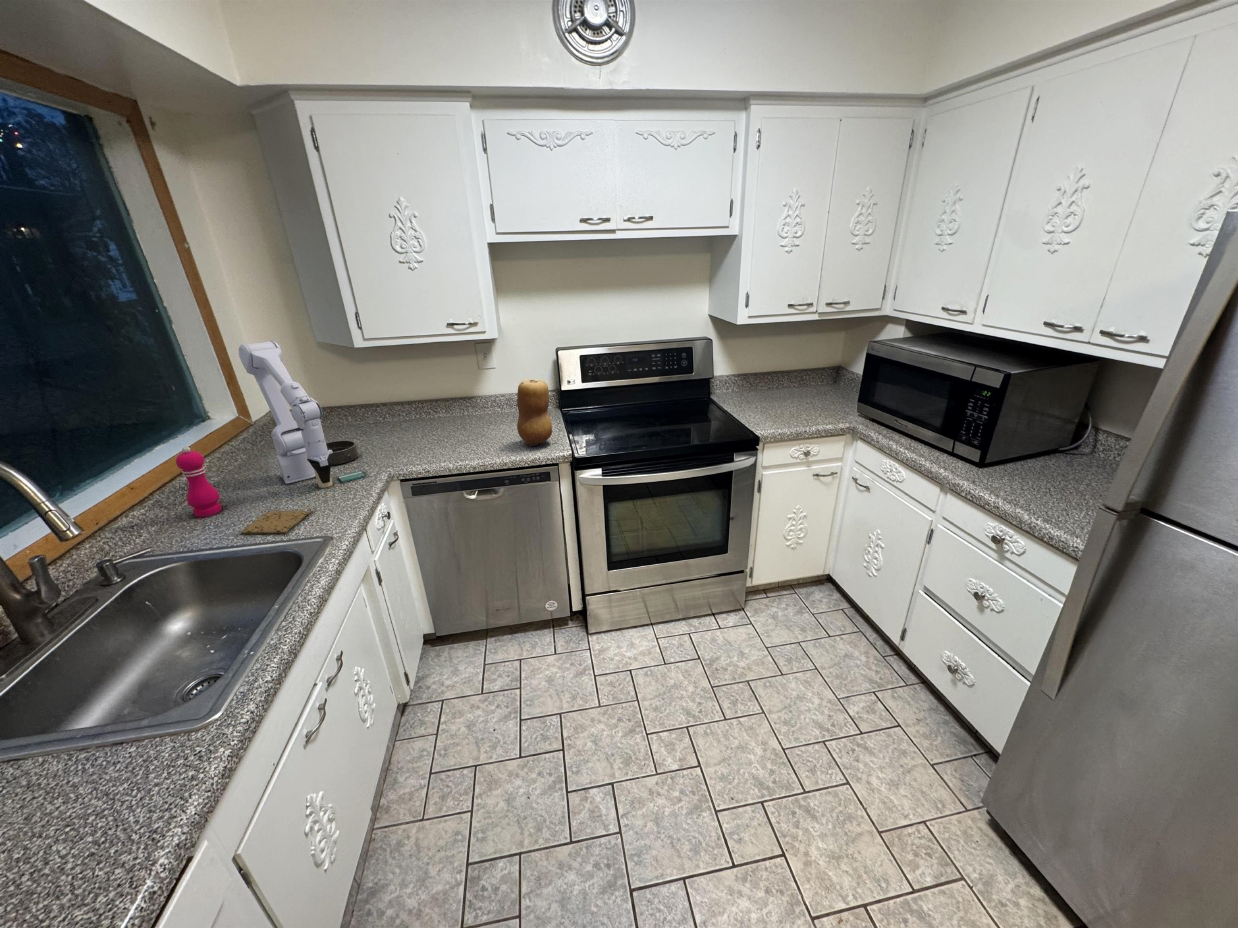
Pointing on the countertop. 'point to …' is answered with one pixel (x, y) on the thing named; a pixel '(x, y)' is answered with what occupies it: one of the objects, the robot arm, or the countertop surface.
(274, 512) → the brown square cork trivet
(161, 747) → the countertop surface
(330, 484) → the spice jar
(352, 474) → the teal rectangular slab
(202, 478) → the pepper mill
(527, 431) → the butternut squash
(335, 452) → the dark round bowl
